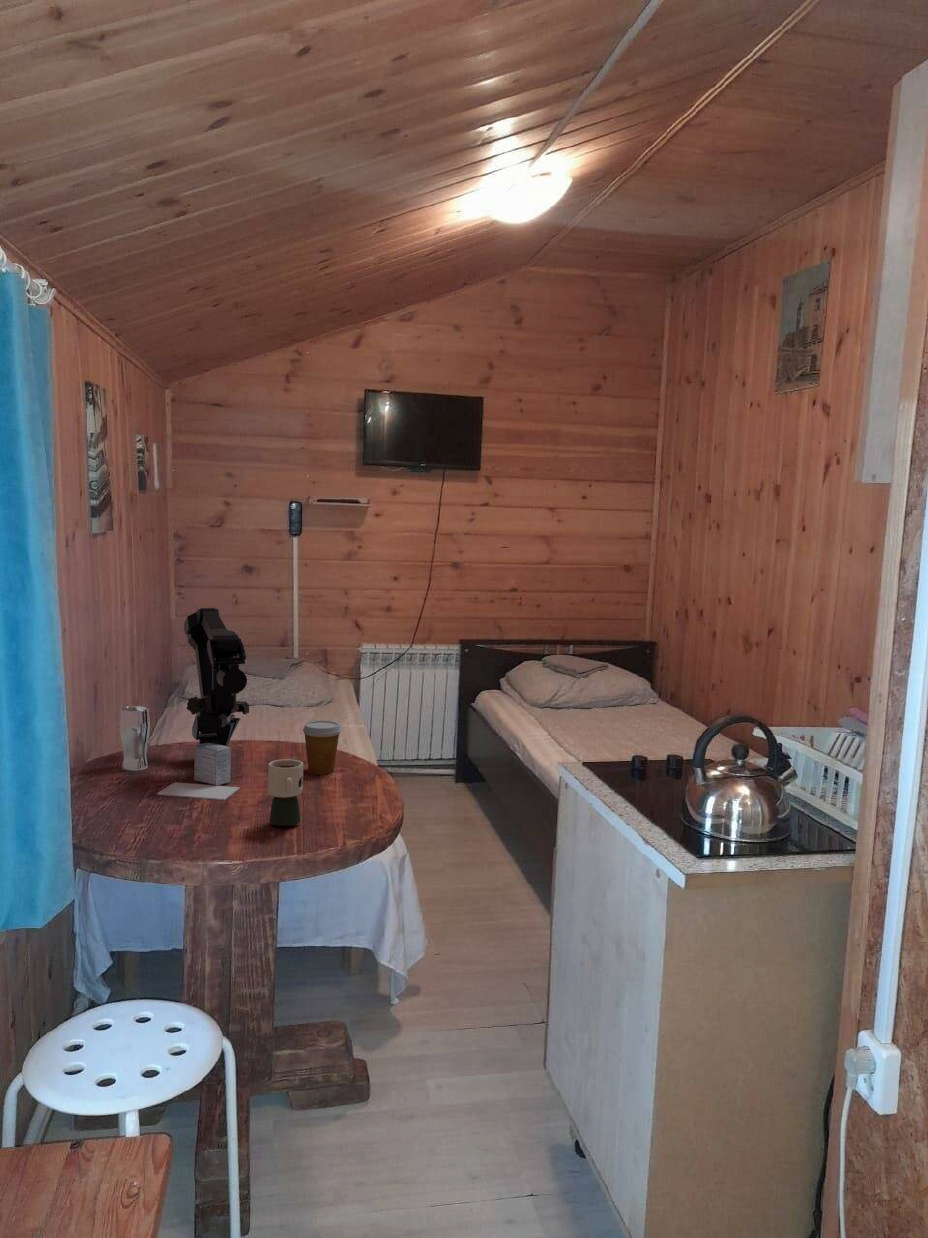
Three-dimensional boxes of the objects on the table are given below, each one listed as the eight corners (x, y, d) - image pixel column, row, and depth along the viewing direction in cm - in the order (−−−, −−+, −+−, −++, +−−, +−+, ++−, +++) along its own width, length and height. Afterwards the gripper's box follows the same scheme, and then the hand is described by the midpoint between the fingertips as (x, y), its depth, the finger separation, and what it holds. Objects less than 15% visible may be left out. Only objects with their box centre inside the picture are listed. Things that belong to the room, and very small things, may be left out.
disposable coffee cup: (341, 766, 235) (342, 720, 233) (338, 777, 225) (339, 729, 224) (304, 765, 234) (305, 719, 233) (299, 776, 225) (300, 728, 223)
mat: (174, 783, 215) (174, 782, 215) (239, 788, 213) (239, 787, 213) (156, 794, 206) (156, 793, 206) (224, 800, 204) (224, 799, 204)
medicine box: (230, 783, 216) (231, 746, 216) (216, 786, 213) (217, 749, 212) (208, 777, 221) (208, 742, 220) (193, 780, 217) (194, 744, 216)
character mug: (306, 831, 186) (307, 769, 184) (271, 834, 183) (272, 771, 182) (297, 814, 196) (298, 755, 195) (264, 817, 194) (264, 757, 192)
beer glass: (143, 772, 223) (143, 712, 221) (115, 771, 223) (115, 710, 221) (153, 764, 230) (153, 706, 228) (126, 763, 230) (126, 705, 228)
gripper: (208, 677, 231) (207, 737, 233) (175, 690, 213) (175, 756, 215) (250, 679, 230) (249, 740, 232) (221, 693, 211) (220, 759, 213)
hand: (223, 748), depth 223 cm, fingers closed
